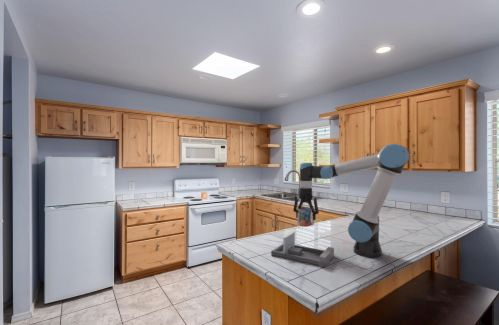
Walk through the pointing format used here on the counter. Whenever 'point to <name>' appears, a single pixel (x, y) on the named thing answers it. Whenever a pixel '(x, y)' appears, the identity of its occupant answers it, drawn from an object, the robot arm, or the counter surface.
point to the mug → (304, 216)
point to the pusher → (290, 245)
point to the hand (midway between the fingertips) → (305, 224)
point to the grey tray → (307, 255)
